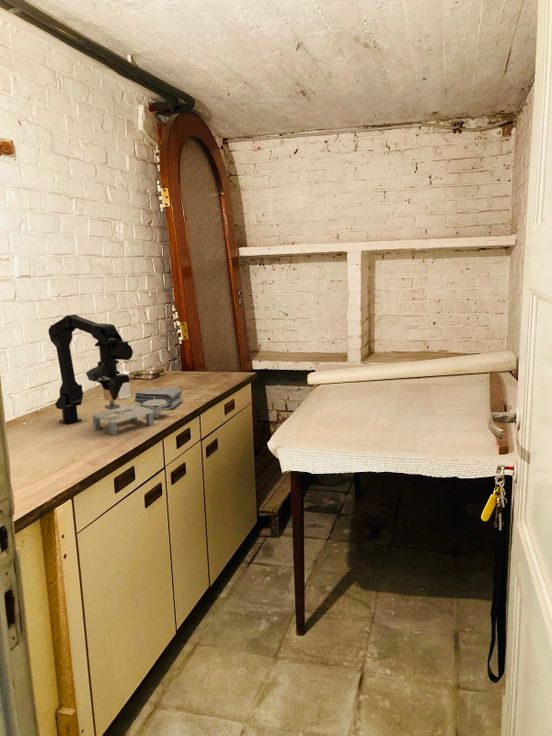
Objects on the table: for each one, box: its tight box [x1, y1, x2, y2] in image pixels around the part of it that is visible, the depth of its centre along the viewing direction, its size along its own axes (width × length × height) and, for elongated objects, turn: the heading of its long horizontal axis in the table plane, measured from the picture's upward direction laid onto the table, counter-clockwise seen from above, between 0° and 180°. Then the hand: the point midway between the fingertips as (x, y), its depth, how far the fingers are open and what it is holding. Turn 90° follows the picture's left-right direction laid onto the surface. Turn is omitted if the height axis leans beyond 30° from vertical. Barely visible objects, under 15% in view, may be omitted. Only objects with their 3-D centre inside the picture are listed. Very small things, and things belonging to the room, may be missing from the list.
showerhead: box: [143, 398, 167, 419], centre depth 232 cm, size 9×7×10 cm
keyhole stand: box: [92, 403, 155, 437], centre depth 220 cm, size 14×18×6 cm
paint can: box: [116, 359, 132, 400], centre depth 267 cm, size 10×9×20 cm
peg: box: [102, 388, 121, 410], centre depth 215 cm, size 4×4×8 cm
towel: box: [133, 386, 183, 411], centre depth 250 cm, size 15×18×8 cm
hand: (111, 398), depth 215 cm, fingers closed on peg, 4 cm apart
